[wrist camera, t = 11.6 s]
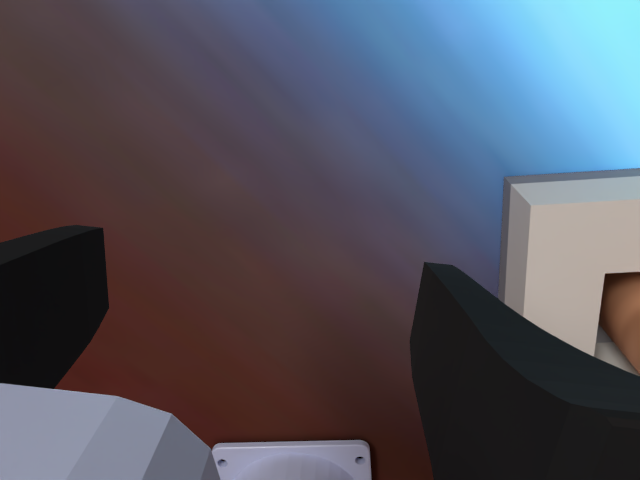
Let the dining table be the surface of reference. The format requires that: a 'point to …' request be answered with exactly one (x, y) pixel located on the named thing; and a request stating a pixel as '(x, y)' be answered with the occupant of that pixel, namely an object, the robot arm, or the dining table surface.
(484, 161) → the dining table surface
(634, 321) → the peg
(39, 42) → the dining table surface
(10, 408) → the robot arm
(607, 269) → the hole block
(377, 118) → the dining table surface
